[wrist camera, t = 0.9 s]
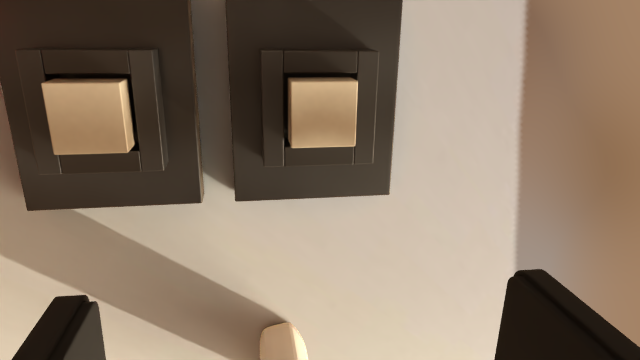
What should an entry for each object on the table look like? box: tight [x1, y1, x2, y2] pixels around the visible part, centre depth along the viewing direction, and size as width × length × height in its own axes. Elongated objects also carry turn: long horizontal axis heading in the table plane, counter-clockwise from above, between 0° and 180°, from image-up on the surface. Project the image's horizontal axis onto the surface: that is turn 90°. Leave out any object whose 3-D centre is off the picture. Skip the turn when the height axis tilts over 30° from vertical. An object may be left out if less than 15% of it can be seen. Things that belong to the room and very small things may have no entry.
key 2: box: [288, 77, 358, 148], centre depth 26 cm, size 4×4×2 cm
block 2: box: [226, 0, 403, 201], centre depth 28 cm, size 12×10×4 cm
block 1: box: [0, 0, 204, 211], centre depth 26 cm, size 12×10×4 cm
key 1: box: [41, 78, 135, 155], centre depth 24 cm, size 4×4×2 cm
